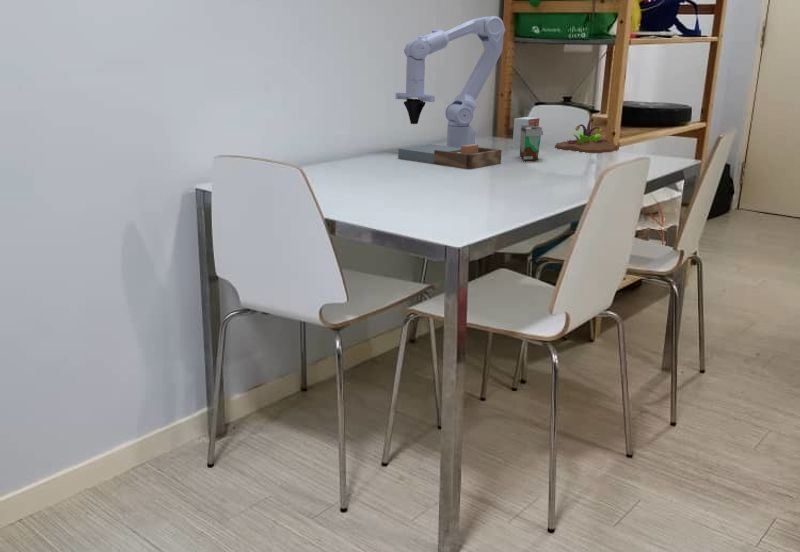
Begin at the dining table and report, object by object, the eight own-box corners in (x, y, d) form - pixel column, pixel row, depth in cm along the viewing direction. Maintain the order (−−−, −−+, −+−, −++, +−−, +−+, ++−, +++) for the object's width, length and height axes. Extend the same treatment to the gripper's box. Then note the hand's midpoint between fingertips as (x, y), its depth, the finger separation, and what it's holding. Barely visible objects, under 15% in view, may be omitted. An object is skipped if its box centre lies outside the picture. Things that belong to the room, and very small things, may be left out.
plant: (627, 152, 271) (631, 119, 268) (597, 157, 257) (601, 122, 254) (577, 146, 284) (580, 114, 281) (546, 150, 271) (548, 117, 267)
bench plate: (430, 153, 255) (431, 144, 254) (465, 158, 247) (466, 148, 246) (398, 158, 244) (398, 148, 243) (433, 163, 235) (434, 153, 234)
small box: (526, 151, 267) (528, 119, 264) (511, 149, 270) (513, 118, 267) (537, 148, 273) (539, 117, 270) (523, 147, 276) (525, 116, 273)
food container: (544, 163, 242) (546, 129, 239) (523, 162, 242) (526, 129, 239) (538, 157, 253) (540, 125, 250) (518, 156, 253) (521, 124, 251)
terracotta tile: (472, 144, 238) (478, 144, 236) (472, 160, 239) (477, 161, 238) (460, 145, 233) (466, 146, 232) (460, 162, 235) (465, 163, 234)
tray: (465, 158, 247) (466, 145, 245) (500, 163, 239) (501, 150, 237) (433, 163, 235) (434, 150, 234) (469, 169, 227) (470, 155, 226)
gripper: (389, 79, 250) (388, 122, 254) (425, 81, 241) (423, 126, 245) (404, 78, 255) (403, 121, 259) (439, 80, 246) (437, 125, 250)
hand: (414, 123), depth 252 cm, fingers closed
